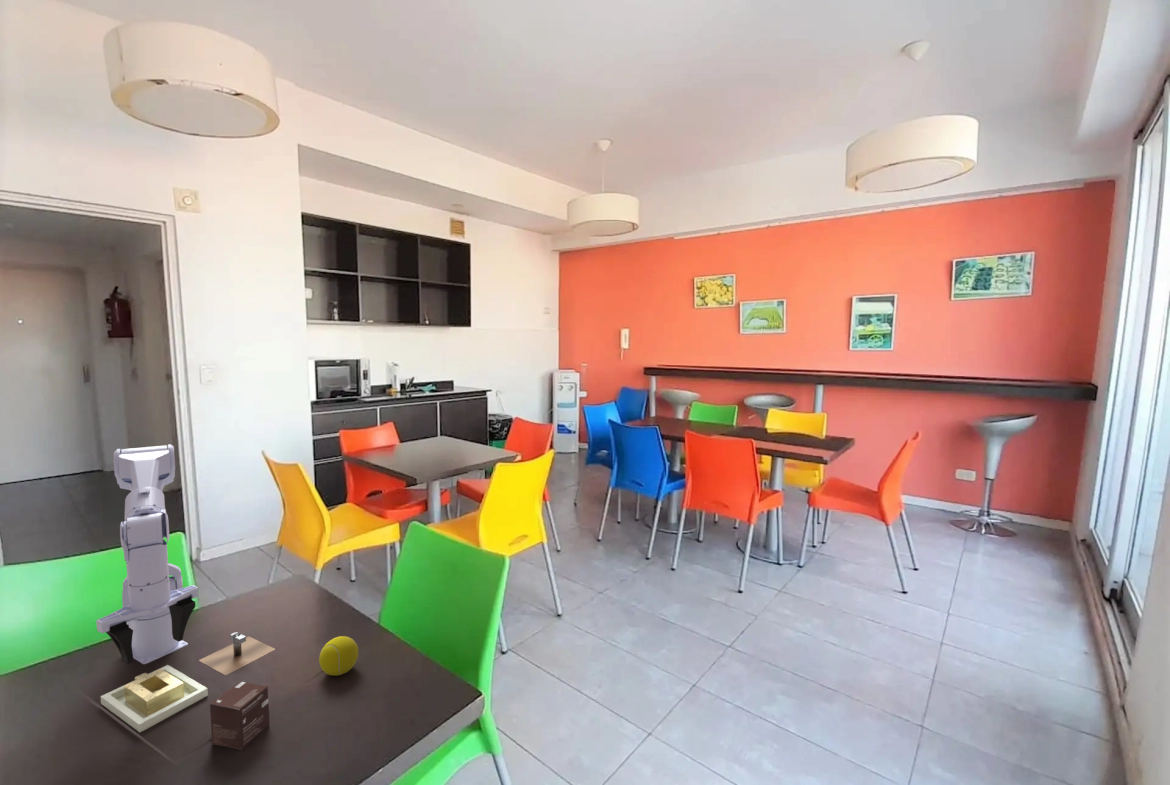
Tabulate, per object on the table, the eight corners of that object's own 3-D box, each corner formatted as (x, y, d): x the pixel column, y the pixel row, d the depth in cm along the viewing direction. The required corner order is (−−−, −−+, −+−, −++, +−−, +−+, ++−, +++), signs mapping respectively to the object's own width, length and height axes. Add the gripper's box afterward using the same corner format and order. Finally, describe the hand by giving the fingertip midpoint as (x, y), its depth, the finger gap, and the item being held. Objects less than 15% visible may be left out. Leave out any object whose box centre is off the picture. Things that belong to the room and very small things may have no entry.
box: (241, 751, 84) (238, 710, 83) (210, 745, 85) (208, 704, 84) (270, 724, 90) (269, 685, 89) (241, 718, 91) (240, 680, 90)
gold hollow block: (147, 717, 90) (146, 701, 90) (122, 698, 95) (121, 683, 94) (184, 697, 95) (183, 682, 95) (158, 681, 100) (157, 666, 99)
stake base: (198, 662, 106) (198, 660, 106) (248, 637, 115) (248, 636, 115) (225, 677, 102) (225, 675, 102) (275, 650, 111) (275, 649, 111)
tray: (101, 705, 93) (100, 696, 93) (168, 673, 103) (167, 664, 102) (140, 734, 87) (139, 724, 87) (207, 697, 96) (207, 688, 96)
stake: (230, 654, 108) (229, 634, 108) (237, 650, 110) (236, 631, 109) (240, 659, 107) (239, 639, 106) (247, 655, 108) (246, 636, 108)
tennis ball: (339, 658, 109) (338, 626, 108) (365, 665, 106) (365, 633, 106) (312, 678, 102) (310, 645, 101) (339, 686, 100) (338, 653, 99)
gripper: (107, 602, 85) (113, 679, 86) (205, 568, 97) (209, 636, 99) (88, 592, 88) (94, 666, 89) (185, 560, 101) (190, 626, 102)
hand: (153, 650), depth 94 cm, fingers open, 7 cm apart
